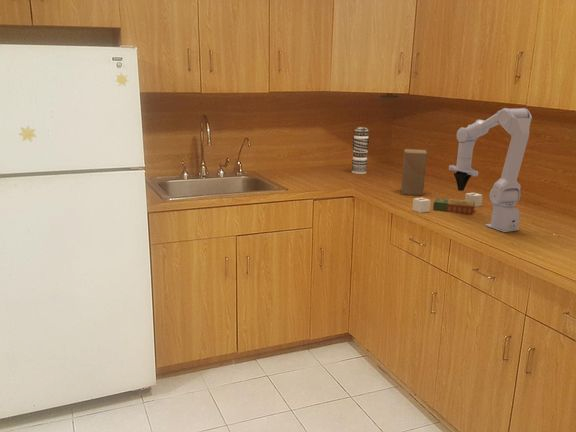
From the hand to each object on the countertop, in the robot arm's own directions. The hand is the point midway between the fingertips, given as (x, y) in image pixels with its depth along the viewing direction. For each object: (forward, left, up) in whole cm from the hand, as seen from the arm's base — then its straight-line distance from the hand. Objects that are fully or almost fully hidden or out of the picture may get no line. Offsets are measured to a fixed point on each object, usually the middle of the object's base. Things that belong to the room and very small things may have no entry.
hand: (460, 190), depth 222 cm
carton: (+3, 0, -10) cm, 10 cm away
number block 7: (+6, -14, -9) cm, 18 cm away
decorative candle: (+87, -9, -9) cm, 88 cm away
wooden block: (+35, -4, -9) cm, 36 cm away
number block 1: (+7, +14, -9) cm, 18 cm away
